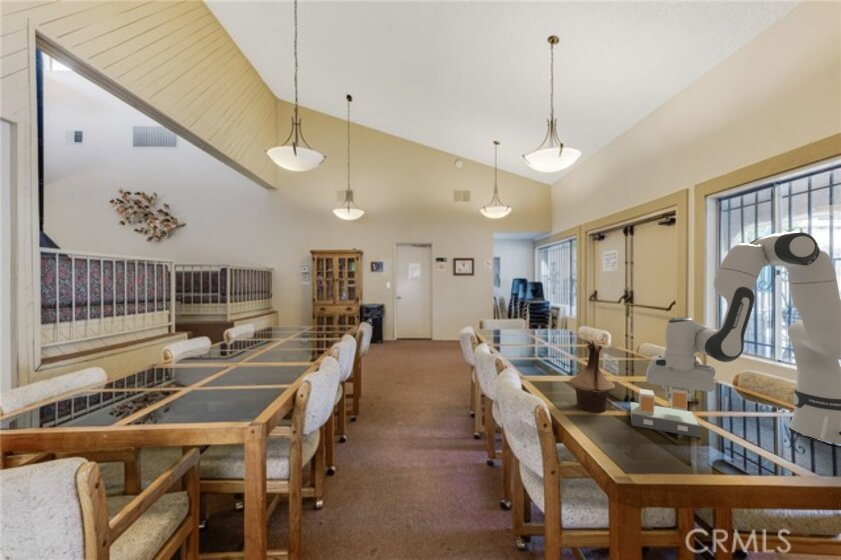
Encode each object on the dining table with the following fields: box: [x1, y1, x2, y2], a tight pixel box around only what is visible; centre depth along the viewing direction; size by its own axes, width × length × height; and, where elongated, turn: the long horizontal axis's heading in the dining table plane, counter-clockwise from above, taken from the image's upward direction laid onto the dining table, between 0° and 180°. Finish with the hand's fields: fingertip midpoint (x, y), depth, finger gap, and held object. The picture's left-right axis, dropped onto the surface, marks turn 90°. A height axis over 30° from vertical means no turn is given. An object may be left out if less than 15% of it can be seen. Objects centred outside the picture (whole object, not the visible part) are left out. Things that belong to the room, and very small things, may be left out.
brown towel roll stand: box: [568, 339, 616, 413], centre depth 146 cm, size 18×17×28 cm
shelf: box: [629, 401, 702, 439], centre depth 132 cm, size 20×17×4 cm
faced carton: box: [638, 388, 655, 414], centre depth 136 cm, size 4×7×7 cm, turn 151°
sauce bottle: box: [686, 355, 701, 403], centre depth 154 cm, size 6×6×20 cm
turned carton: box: [669, 386, 688, 411], centre depth 131 cm, size 4×7×7 cm, turn 151°
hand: (678, 398), depth 131 cm, fingers closed on turned carton, 4 cm apart
